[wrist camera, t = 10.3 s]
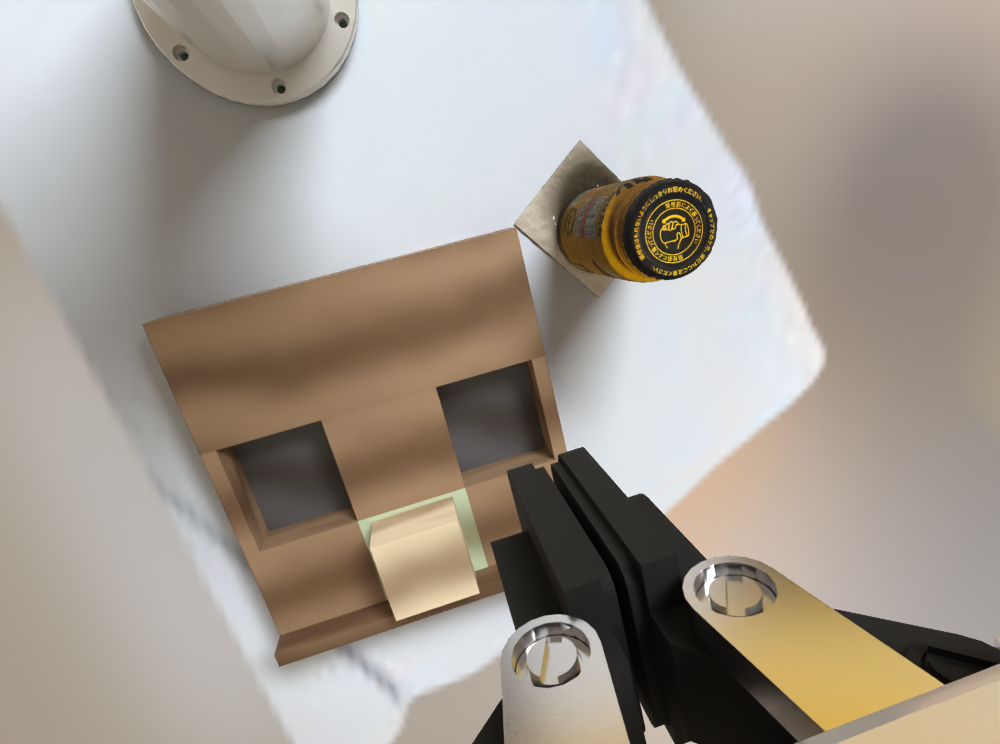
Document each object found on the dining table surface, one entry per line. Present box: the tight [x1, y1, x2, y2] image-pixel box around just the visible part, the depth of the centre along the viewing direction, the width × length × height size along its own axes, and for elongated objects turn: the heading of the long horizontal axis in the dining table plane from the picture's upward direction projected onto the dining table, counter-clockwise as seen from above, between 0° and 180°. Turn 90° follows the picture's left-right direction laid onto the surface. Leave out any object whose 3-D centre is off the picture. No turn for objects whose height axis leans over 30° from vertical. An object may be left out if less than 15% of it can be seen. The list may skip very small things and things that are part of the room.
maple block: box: [370, 496, 479, 621], centre depth 38 cm, size 6×6×4 cm
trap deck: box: [142, 228, 567, 667], centre depth 38 cm, size 25×24×5 cm
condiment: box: [515, 141, 717, 297], centre depth 33 cm, size 7×8×12 cm
